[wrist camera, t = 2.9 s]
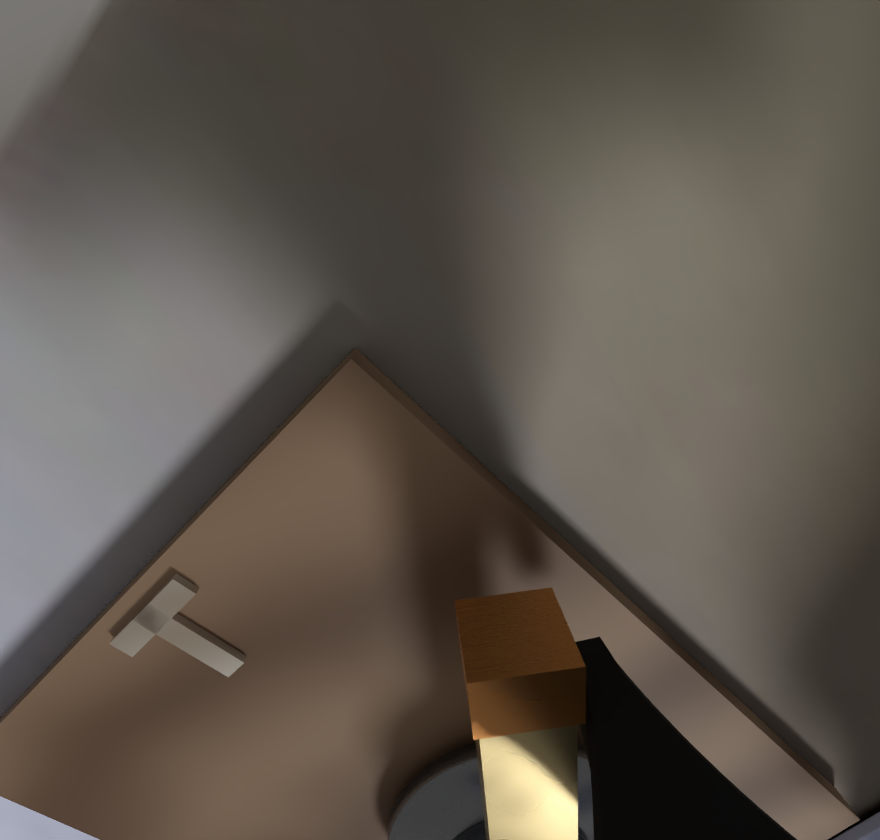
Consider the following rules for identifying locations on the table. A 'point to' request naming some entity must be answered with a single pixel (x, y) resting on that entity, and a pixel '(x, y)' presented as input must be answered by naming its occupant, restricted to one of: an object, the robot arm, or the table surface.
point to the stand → (337, 647)
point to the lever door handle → (510, 733)
